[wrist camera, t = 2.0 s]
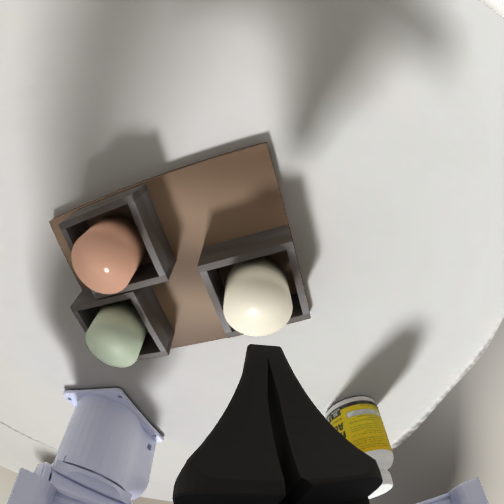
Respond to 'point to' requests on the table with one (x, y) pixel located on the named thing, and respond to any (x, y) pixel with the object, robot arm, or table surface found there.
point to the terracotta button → (108, 254)
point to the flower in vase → (496, 6)
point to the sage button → (116, 334)
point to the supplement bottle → (364, 433)
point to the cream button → (257, 297)
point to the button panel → (191, 245)
